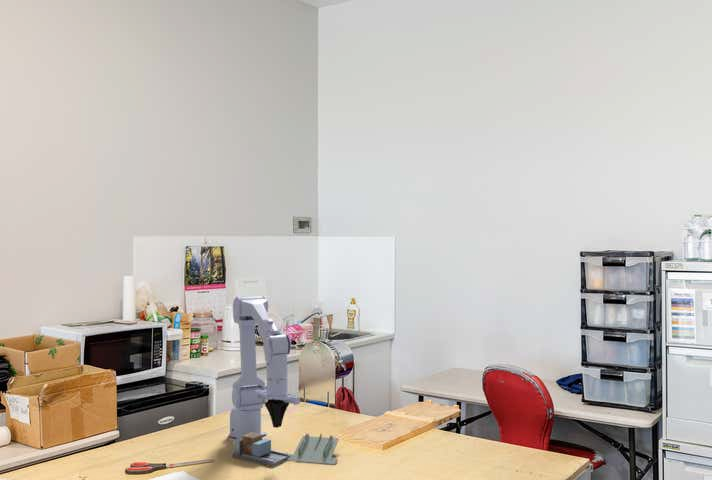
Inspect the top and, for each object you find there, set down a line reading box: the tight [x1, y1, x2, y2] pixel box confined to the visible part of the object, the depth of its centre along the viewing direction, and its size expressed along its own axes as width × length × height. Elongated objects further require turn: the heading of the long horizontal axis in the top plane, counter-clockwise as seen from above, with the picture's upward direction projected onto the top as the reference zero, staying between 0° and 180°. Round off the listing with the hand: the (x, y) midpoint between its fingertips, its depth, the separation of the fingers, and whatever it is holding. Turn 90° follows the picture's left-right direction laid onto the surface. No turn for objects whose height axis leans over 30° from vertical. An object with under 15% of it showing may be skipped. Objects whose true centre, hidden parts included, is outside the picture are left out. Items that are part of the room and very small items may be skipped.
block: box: [242, 432, 263, 455], centre depth 192 cm, size 4×4×5 cm
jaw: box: [252, 437, 272, 457], centre depth 191 cm, size 3×5×4 cm, turn 148°
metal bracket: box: [285, 433, 339, 466], centre depth 193 cm, size 14×6×15 cm
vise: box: [231, 436, 290, 467], centre depth 191 cm, size 15×8×5 cm, turn 58°
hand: (277, 426), depth 187 cm, fingers closed
